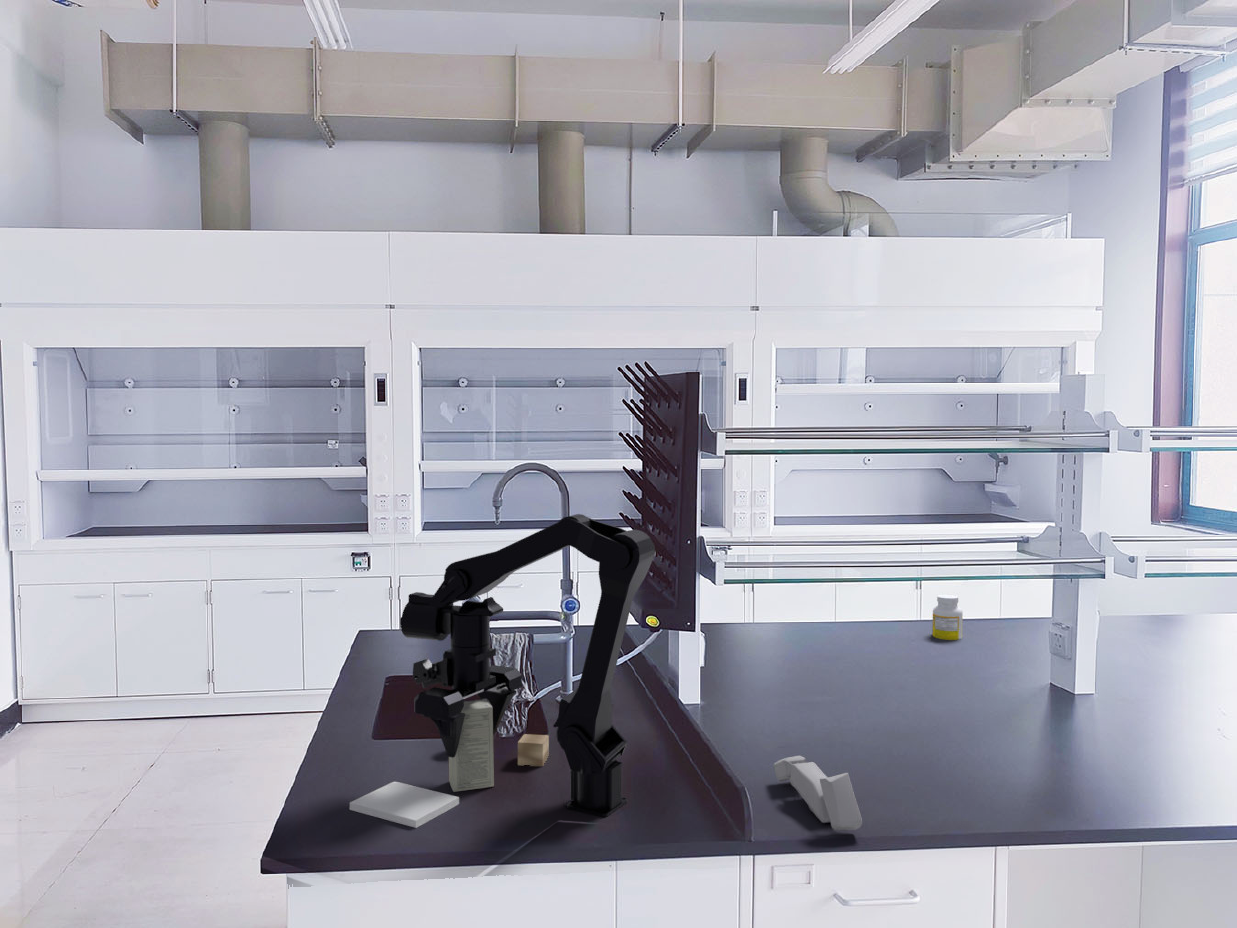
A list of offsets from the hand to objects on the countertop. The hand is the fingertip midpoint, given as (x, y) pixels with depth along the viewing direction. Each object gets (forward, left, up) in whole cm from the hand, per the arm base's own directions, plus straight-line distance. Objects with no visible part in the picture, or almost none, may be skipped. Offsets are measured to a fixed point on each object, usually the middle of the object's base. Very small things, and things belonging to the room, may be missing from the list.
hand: (470, 747), depth 142 cm
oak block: (-3, -12, -6) cm, 14 cm away
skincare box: (0, 0, -6) cm, 6 cm away
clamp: (-47, -17, -6) cm, 50 cm away
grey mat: (+3, +11, -6) cm, 13 cm away
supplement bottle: (-46, -121, -6) cm, 130 cm away
